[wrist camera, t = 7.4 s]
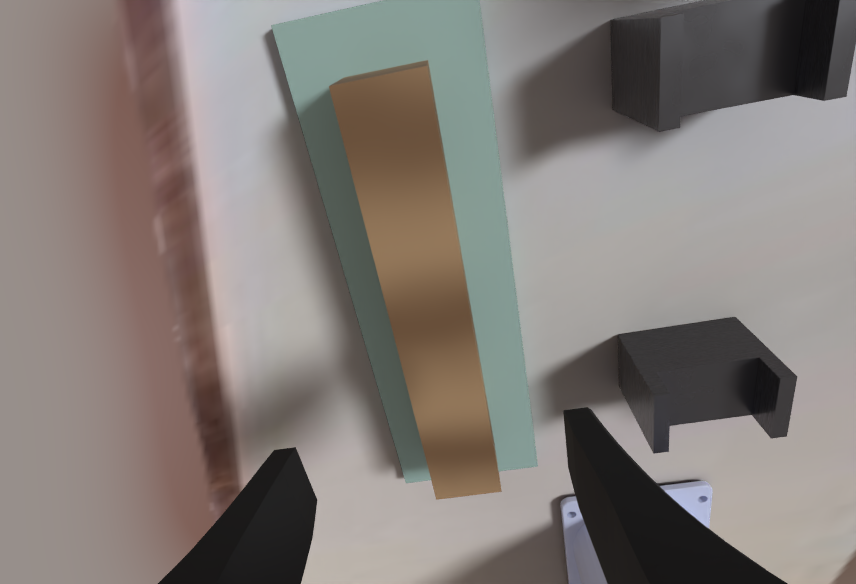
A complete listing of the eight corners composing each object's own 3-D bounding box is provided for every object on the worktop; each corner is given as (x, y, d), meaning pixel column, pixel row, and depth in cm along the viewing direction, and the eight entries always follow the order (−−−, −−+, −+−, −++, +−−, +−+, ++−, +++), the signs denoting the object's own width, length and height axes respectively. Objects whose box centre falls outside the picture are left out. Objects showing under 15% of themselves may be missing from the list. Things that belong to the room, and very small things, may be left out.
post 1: (759, 81, 18) (846, 96, 15) (612, 110, 19) (659, 131, 15) (768, -14, 17) (867, -25, 13) (610, 19, 18) (660, 18, 14)
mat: (535, 457, 27) (537, 466, 26) (406, 474, 28) (406, 483, 27) (475, -19, 17) (476, -21, 17) (275, 25, 18) (271, 25, 17)
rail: (494, 443, 26) (501, 491, 23) (436, 451, 26) (436, 499, 23) (428, 59, 18) (426, 65, 15) (344, 77, 18) (328, 86, 15)
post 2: (730, 370, 24) (786, 436, 20) (618, 386, 25) (653, 453, 21) (735, 316, 23) (797, 376, 19) (617, 334, 23) (654, 396, 20)
